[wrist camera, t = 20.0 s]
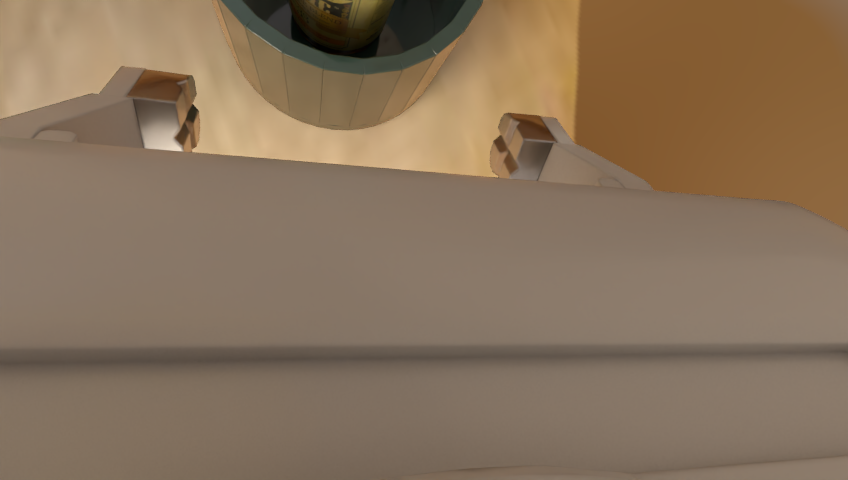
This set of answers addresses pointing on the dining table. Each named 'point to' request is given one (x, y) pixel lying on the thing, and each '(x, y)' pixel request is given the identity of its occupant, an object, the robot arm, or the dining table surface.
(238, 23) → the bottle cooler
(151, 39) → the dining table surface
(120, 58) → the dining table surface
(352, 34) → the sauce bottle
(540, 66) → the dining table surface
